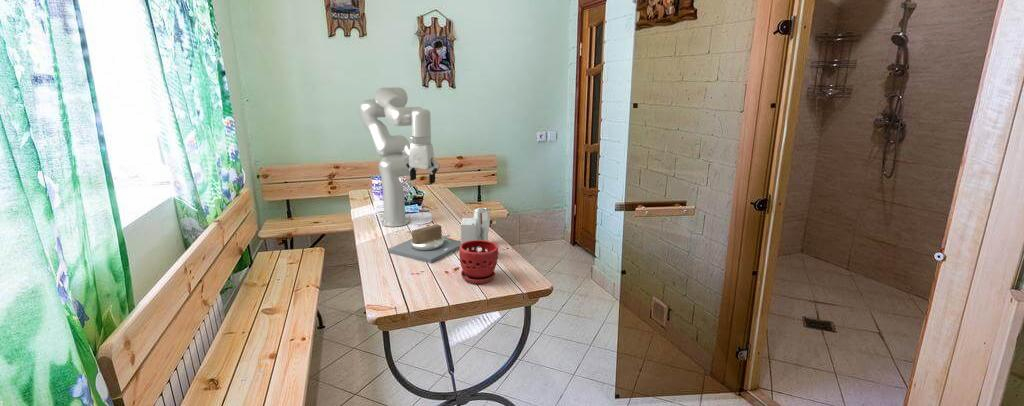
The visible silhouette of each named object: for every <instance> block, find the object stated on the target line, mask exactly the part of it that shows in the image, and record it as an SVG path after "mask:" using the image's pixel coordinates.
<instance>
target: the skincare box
mask: <svg viewBox="0 0 1024 406" xmlns="http://www.w3.org/2000/svg"><path fill="white" fill-rule="evenodd" d="M460 223H461V224H460V241H461V244H462V243H464V242H467V241H472V240H478V219H477V218H473V217H462V219H461V222H460ZM478 248H479V247H477V248H476V251H477V252H479V250H478ZM468 250H469V249H468V248H467V250H466V251H468ZM472 250H474V247H473V248H472ZM463 260H464V259H463Z"/></svg>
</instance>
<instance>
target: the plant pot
mask: <svg viewBox="0 0 1024 406" xmlns="http://www.w3.org/2000/svg"><path fill="white" fill-rule="evenodd" d="M473 247H474V250H472V248H473ZM477 247H478V248H480V249H481V251H478V252H477V251H476V248H477ZM467 248H468V249H469V250H468V251H466V250H467ZM458 251H459V263H460V266H461V269H462V270H461V271H460V272H461V273H460V276H461V278H462V279H463V280H464V281H465V282H468V283H470V284H471V283H472V284H484V283H488V282H490V281H492V280H493V279H494V278H495V276H496V272H495V269H496V268H497V264H498V260H499V259H498V257H499V246H498V244H496V243H495V242H493V241H489V240H488V241H485V240H472V241H467V242H464V243H462V244H461V245H460V249H459V250H458ZM463 259H464V260H463Z"/></svg>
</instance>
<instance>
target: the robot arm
mask: <svg viewBox="0 0 1024 406" xmlns="http://www.w3.org/2000/svg"><path fill="white" fill-rule="evenodd" d="M408 99H409V98H408V94H407V91H406V90H405V89H404V88H402V87H397V86H396V87H394V86H392V87H380V88H378V89H376V90H375V92H374V93H373V98H370V99H365V100H363V101H362V102H360V104H359V106H358V107H359V108H358V110H359V117H360V120H361V122H362V124H363V125H364V127H365V129H366V131H368V133H369V136H370V139H371V142H372V144H373V146H374V150H375V152H376V155H377V156H378V157H380V158H381V160H380V161H378V171H379V176H380V179H381V185H382V186H381V189H382V198H383V211H382V212H381V214H379V217H380V218H382V219H383V220H382V221H381V225H382V226H383V227H389V228H396V227H403V226H405V225H406V226H407V225H408V224H409V222H410V219H409V218H407V217H406V206H405V192H404V191H405V190H404V185H403V183H402V181H400V179H399V178H400V177H406V176H409V180H410V181H413V180H414V181H415V180H417V171H418V169H420V170H428V172H429V175H428V183H429V184H431V185H432V184H434V183H436V174H437V172H438V171H439V170H440V167H441V163H440V162H439V161H438V160H436V159H435V152H434V151H435V150H434V146H433V143H432V132H431V131H432V126H431V125H432V124H431V123H432V122H431V120H432V119H431V111H430V110H429V109H426V108H423V107H421V106H406V105H407V104H408ZM379 118H386V121H388V122H389V123H390V124H392V125H393V126H395V127H405V126H406V127H407V126H411V136H410V138H409V139H410V140H411V143H410V141H409V140H408V138H407V137H406V136H404V135H401V134H400V135H399V134H398V135H391V134H390V132H389V129H388V128H387V126H386V124H385V123H383V121H381V120H379Z"/></svg>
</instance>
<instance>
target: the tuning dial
mask: <svg viewBox="0 0 1024 406" xmlns="http://www.w3.org/2000/svg"><path fill="white" fill-rule="evenodd" d="M442 231H443V230H442V225H440V224H437V223H436V224H432V225H429V226H425V227H424V226H423V227H421V228H417V229H413V230H411V239H412V240H411V247H412V248H413V249H416V250H422V251H428V250H435V249H438V248H441V247H442V246H443V245H444V238H450V237H451V234H446V235H443V234H442ZM442 235H443V236H442Z"/></svg>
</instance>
